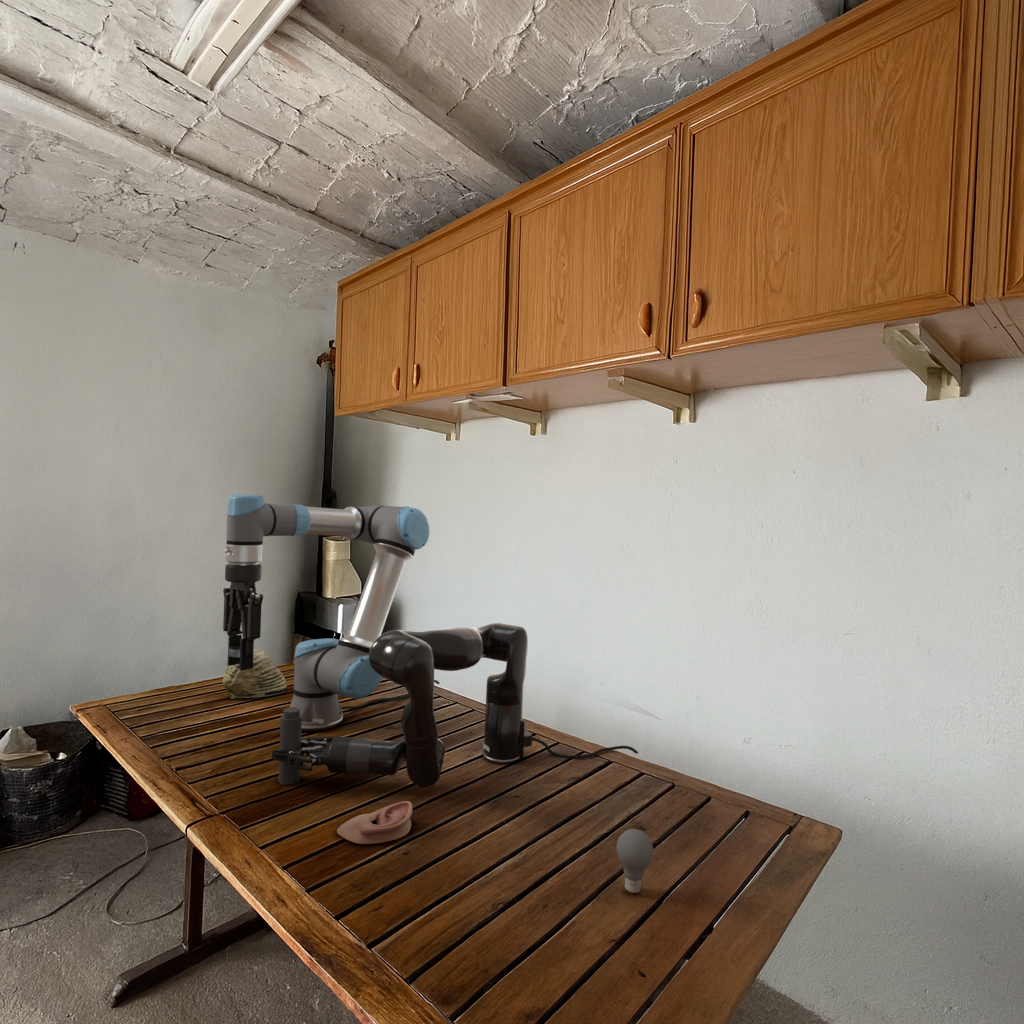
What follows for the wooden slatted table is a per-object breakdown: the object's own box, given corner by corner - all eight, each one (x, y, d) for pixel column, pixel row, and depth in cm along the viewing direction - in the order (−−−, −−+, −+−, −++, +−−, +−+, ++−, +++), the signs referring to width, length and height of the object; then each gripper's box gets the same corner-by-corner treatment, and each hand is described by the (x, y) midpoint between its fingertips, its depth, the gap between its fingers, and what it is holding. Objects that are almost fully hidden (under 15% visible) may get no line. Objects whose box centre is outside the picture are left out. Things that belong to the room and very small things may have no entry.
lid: (255, 655, 142) (255, 648, 142) (231, 658, 139) (231, 651, 138) (248, 651, 145) (249, 644, 145) (225, 653, 142) (226, 646, 142)
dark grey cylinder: (276, 785, 138) (278, 713, 138) (281, 776, 143) (283, 706, 142) (297, 784, 139) (299, 713, 138) (301, 775, 143) (304, 706, 143)
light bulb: (610, 879, 108) (613, 822, 108) (644, 879, 109) (647, 822, 109) (619, 902, 102) (622, 840, 102) (655, 901, 103) (658, 840, 103)
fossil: (218, 695, 195) (220, 647, 195) (278, 685, 208) (279, 640, 207) (228, 703, 189) (230, 653, 188) (289, 692, 201) (290, 645, 201)
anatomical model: (329, 818, 117) (357, 790, 128) (328, 839, 117) (356, 810, 128) (397, 828, 114) (419, 799, 126) (396, 850, 114) (418, 819, 126)
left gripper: (208, 560, 144) (205, 661, 145) (247, 568, 133) (243, 678, 133) (240, 558, 150) (236, 656, 151) (280, 566, 139) (276, 672, 139)
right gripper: (363, 727, 147) (291, 722, 148) (343, 751, 132) (263, 745, 134) (362, 759, 147) (290, 754, 148) (341, 787, 133) (262, 780, 134)
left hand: (240, 666), depth 142 cm, fingers closed on lid, 5 cm apart
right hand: (278, 750), depth 141 cm, fingers closed on dark grey cylinder, 4 cm apart
